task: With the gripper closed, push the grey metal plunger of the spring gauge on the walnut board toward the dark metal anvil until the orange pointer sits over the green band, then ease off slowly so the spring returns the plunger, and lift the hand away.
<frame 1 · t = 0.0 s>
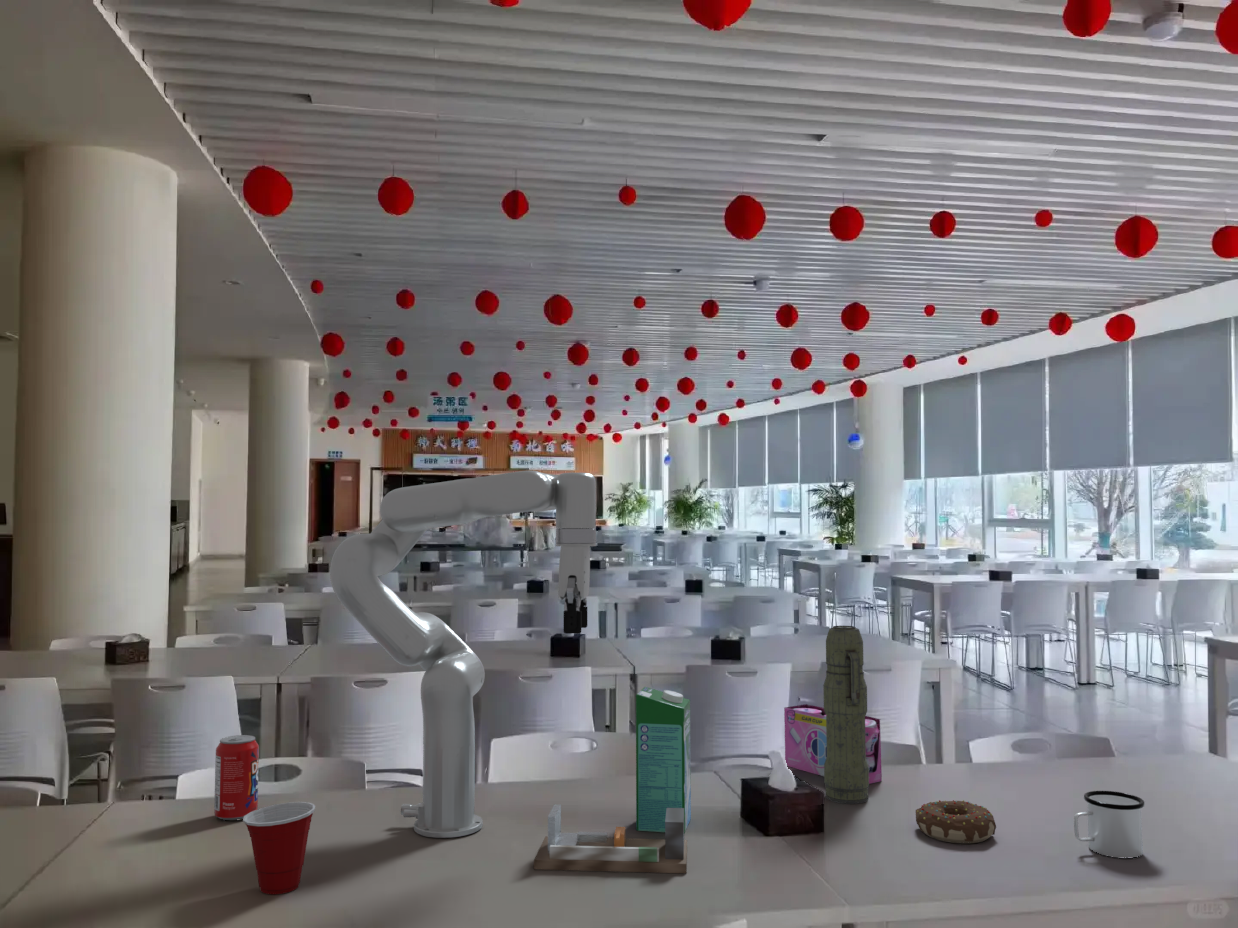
hand: (575, 630, 181), 37 cm above the table, tool pointing down, fingers open, 9 cm apart
mug: (1108, 852, 168), on the table
plastic cup: (278, 889, 152), on the table
milk carton: (664, 826, 183), on the table
thermos: (846, 798, 201), on the table
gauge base: (612, 858, 164), on the table
pointer: (619, 839, 163), point 4 cm above the table, slide at 0.0 cm
plunger: (578, 828, 165), point 5 cm above the table, slide at 0.0 cm
gum box: (831, 774, 220), on the table
soda can: (236, 817, 188), on the table
donut: (953, 835, 177), on the table
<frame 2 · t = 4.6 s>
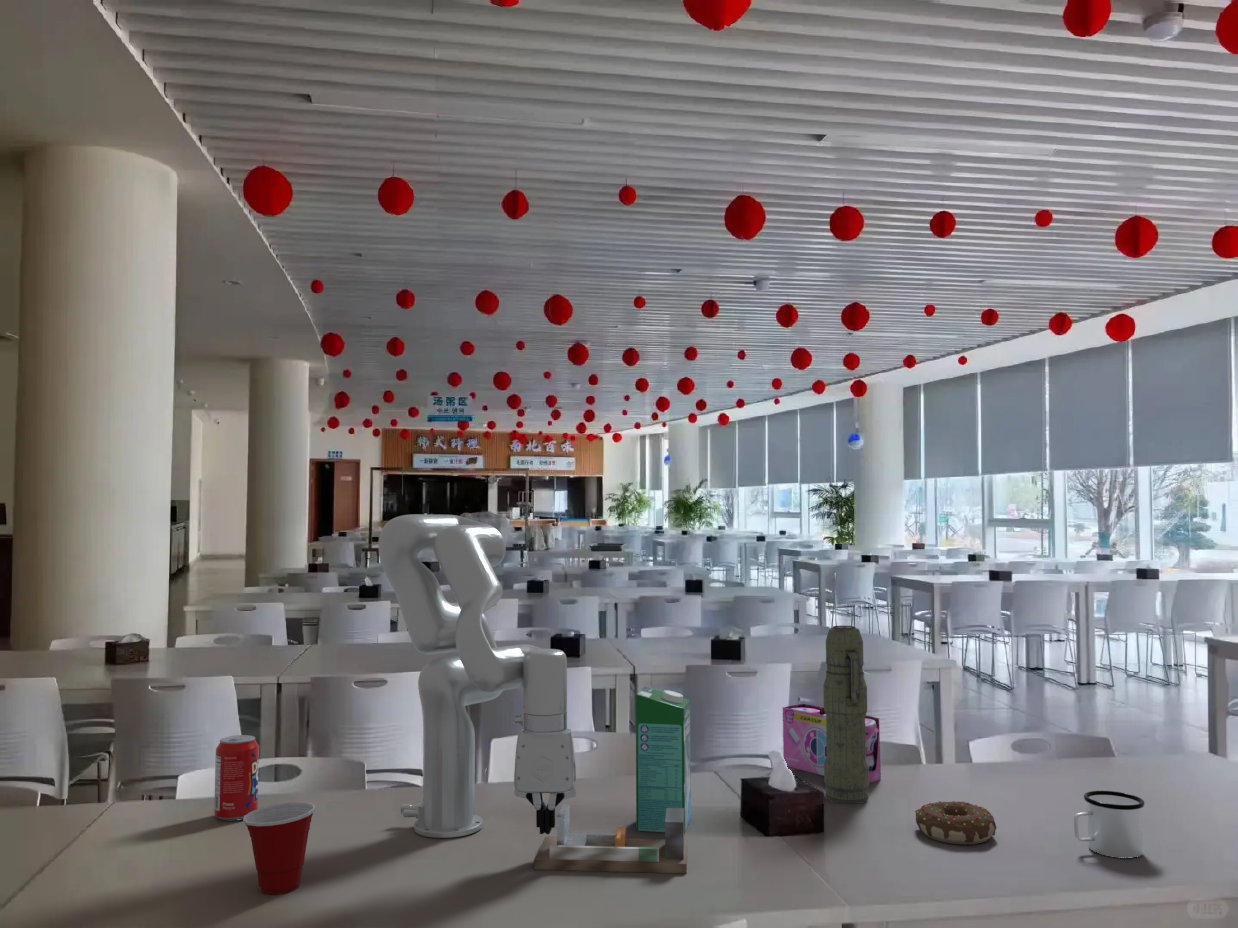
hand: (545, 831, 165), 4 cm above the table, tool pointing down, fingers closed
pointer: (619, 839, 163), point 4 cm above the table, slide at 0.1 cm, touching plunger
plunger: (587, 829, 165), point 5 cm above the table, slide at 1.5 cm, touching gripper, pointer
everything else where it was.
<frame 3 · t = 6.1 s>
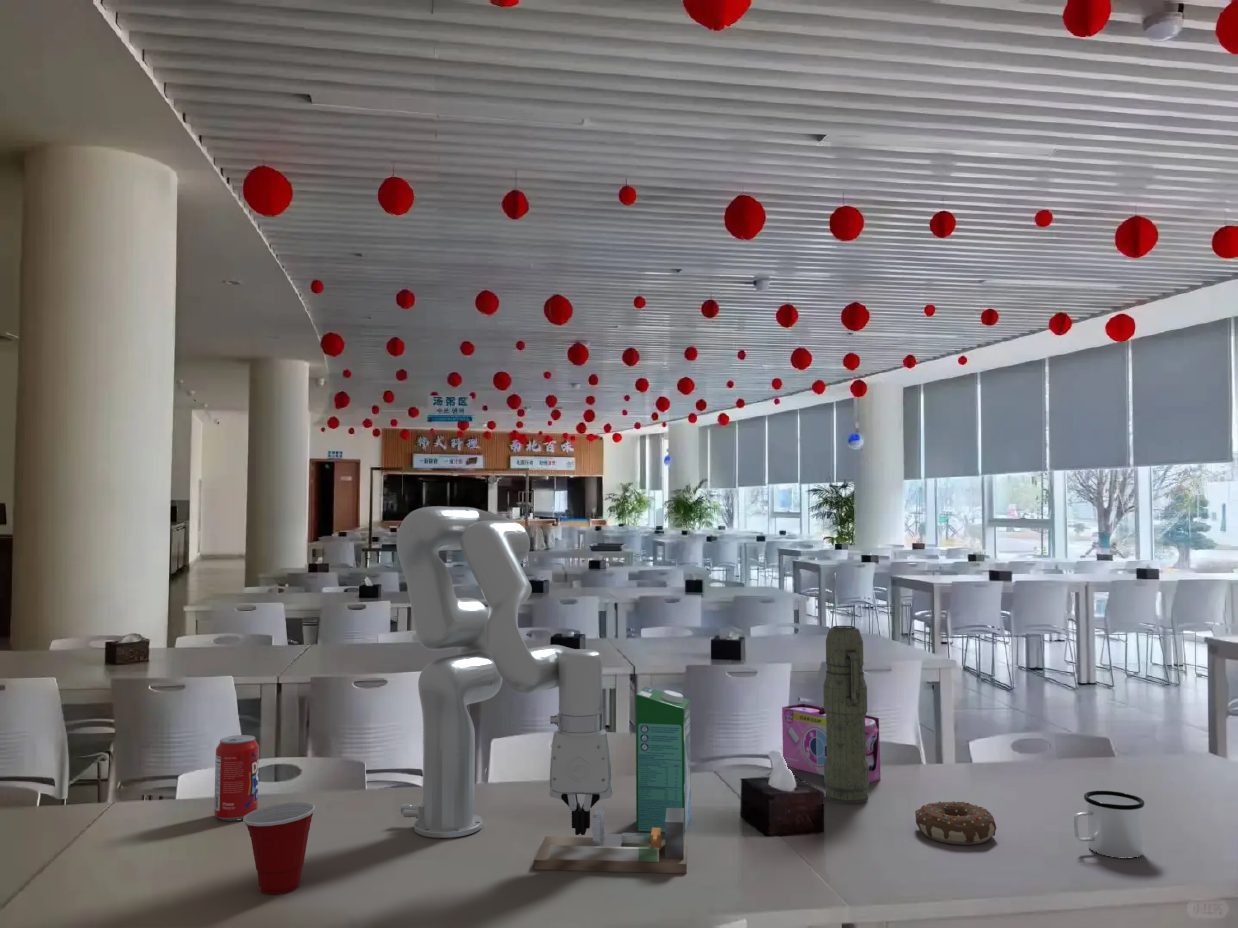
hand: (580, 832, 165), 4 cm above the table, tool pointing down, fingers closed
pointer: (655, 840, 162), point 4 cm above the table, slide at 6.1 cm, touching plunger
plunger: (623, 829, 165), point 5 cm above the table, slide at 7.5 cm, touching gripper, pointer
everything else where it was.
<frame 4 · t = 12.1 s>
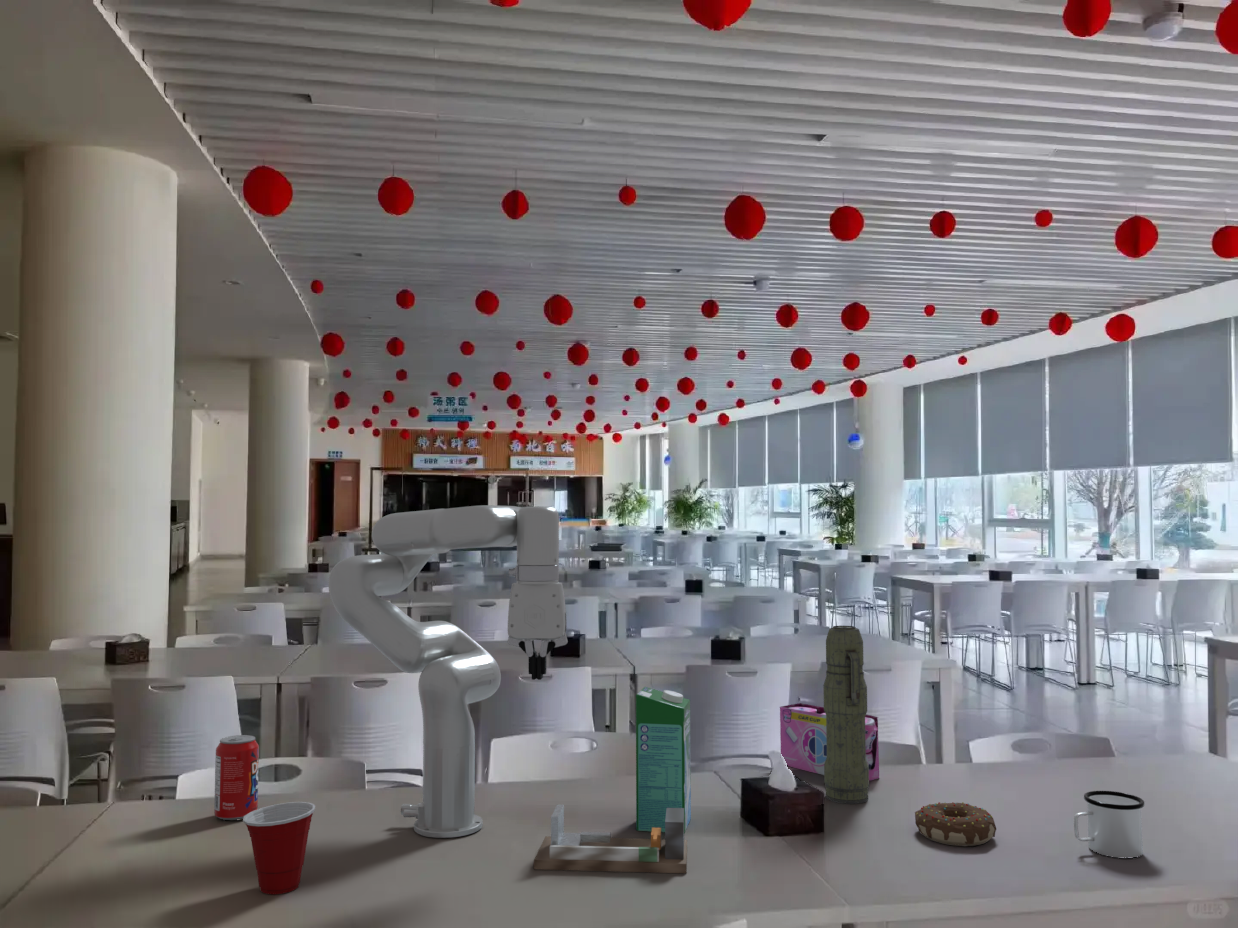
hand: (537, 678, 173), 29 cm above the table, tool pointing down, fingers closed
pointer: (655, 840, 162), point 4 cm above the table, slide at 6.2 cm
plunger: (582, 829, 165), point 5 cm above the table, slide at 0.5 cm
at the end: pointer slide at 6.2 cm; plunger slide at 0.5 cm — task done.
